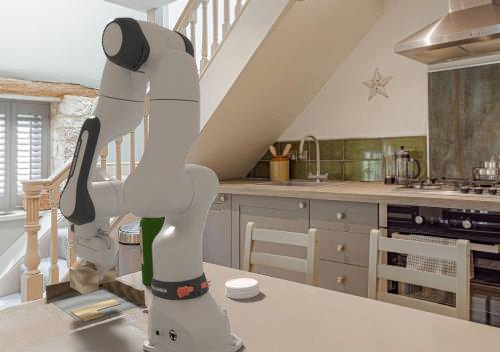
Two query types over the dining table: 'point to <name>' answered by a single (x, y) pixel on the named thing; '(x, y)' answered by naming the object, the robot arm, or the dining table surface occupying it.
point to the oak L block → (89, 277)
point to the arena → (95, 299)
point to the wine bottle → (148, 245)
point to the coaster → (242, 288)
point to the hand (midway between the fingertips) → (95, 277)
